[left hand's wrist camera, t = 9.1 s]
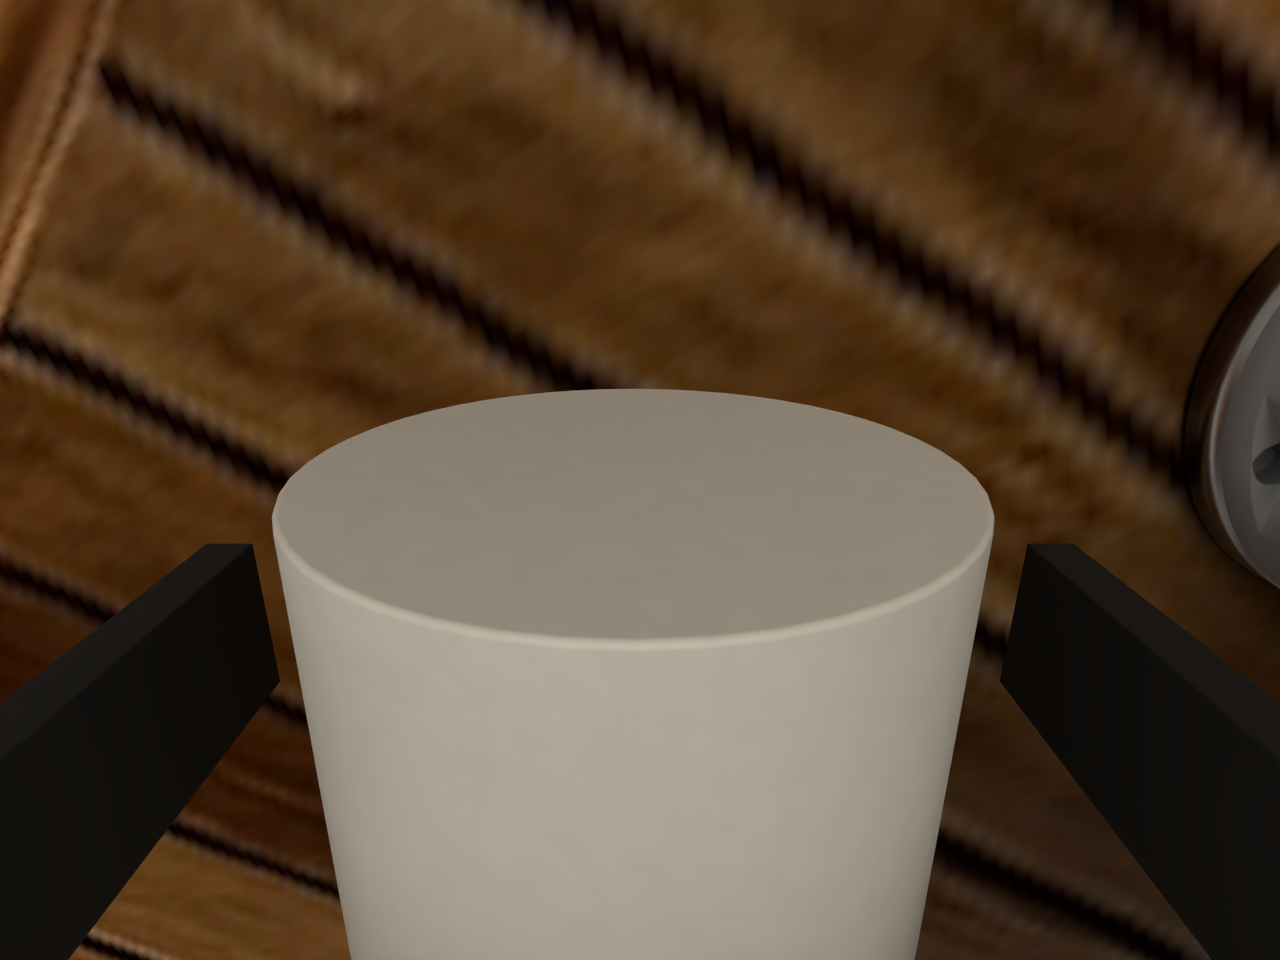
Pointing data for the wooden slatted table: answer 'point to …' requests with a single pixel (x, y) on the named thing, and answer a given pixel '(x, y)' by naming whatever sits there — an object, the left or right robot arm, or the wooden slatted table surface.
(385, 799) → the rod
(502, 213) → the wooden slatted table surface
